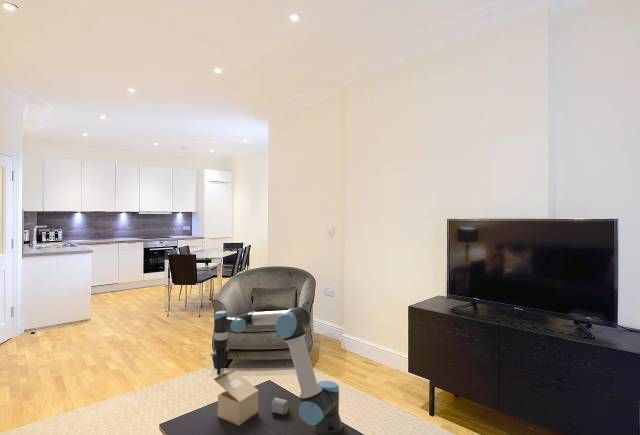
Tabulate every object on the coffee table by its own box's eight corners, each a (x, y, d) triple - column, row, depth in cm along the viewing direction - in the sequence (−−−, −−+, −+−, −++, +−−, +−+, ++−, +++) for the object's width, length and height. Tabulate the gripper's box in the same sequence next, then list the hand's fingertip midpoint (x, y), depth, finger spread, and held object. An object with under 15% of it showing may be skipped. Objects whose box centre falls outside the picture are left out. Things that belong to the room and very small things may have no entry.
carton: (258, 412, 198) (258, 391, 198) (238, 425, 185) (239, 403, 185) (237, 404, 206) (237, 384, 206) (217, 416, 193) (218, 394, 193)
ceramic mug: (284, 417, 193) (284, 403, 193) (270, 415, 196) (271, 401, 196) (291, 408, 203) (291, 394, 204) (278, 405, 206) (278, 392, 206)
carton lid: (258, 391, 198) (258, 390, 197) (239, 402, 185) (240, 401, 185) (233, 370, 208) (233, 369, 208) (213, 379, 196) (214, 378, 195)
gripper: (224, 334, 211) (224, 373, 211) (207, 340, 200) (206, 382, 200) (233, 336, 207) (233, 376, 207) (216, 343, 196) (216, 385, 196)
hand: (220, 379), depth 203 cm, fingers closed
